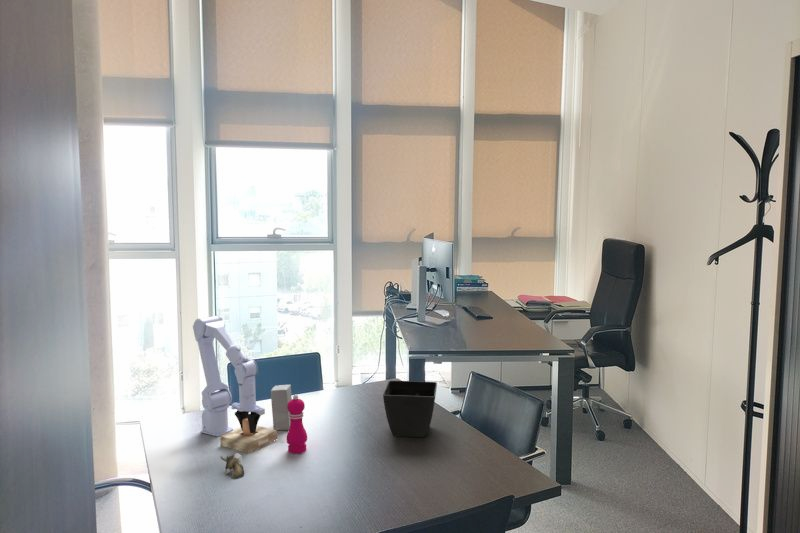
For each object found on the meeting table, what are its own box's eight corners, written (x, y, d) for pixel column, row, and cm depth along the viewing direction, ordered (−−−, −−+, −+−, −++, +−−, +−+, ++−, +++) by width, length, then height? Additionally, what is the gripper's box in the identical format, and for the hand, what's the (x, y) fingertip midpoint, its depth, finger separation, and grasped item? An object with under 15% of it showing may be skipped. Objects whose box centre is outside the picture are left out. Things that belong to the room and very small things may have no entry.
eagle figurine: (214, 468, 193) (220, 474, 185) (224, 447, 196) (231, 451, 188) (235, 477, 196) (242, 482, 188) (245, 456, 198) (252, 460, 191)
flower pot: (437, 422, 235) (437, 380, 233) (435, 441, 216) (435, 396, 214) (389, 421, 237) (388, 380, 235) (383, 440, 218) (382, 395, 216)
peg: (241, 436, 216) (240, 420, 216) (249, 433, 219) (248, 417, 218) (247, 438, 214) (246, 422, 213) (255, 435, 217) (254, 419, 216)
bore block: (220, 445, 215) (220, 436, 214) (249, 432, 227) (248, 423, 226) (249, 453, 208) (248, 443, 207) (277, 439, 220) (276, 430, 219)
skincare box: (289, 430, 228) (288, 390, 227) (271, 430, 229) (269, 390, 227) (294, 422, 237) (292, 383, 235) (276, 422, 237) (274, 383, 235)
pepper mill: (303, 455, 205) (301, 398, 203) (283, 453, 207) (281, 397, 205) (310, 447, 212) (309, 392, 210) (291, 445, 214) (289, 391, 212)
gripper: (224, 394, 216) (226, 431, 217) (254, 400, 208) (255, 438, 210) (239, 389, 222) (240, 424, 223) (268, 395, 214) (269, 431, 216)
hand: (248, 431), depth 217 cm, fingers closed on peg, 4 cm apart
